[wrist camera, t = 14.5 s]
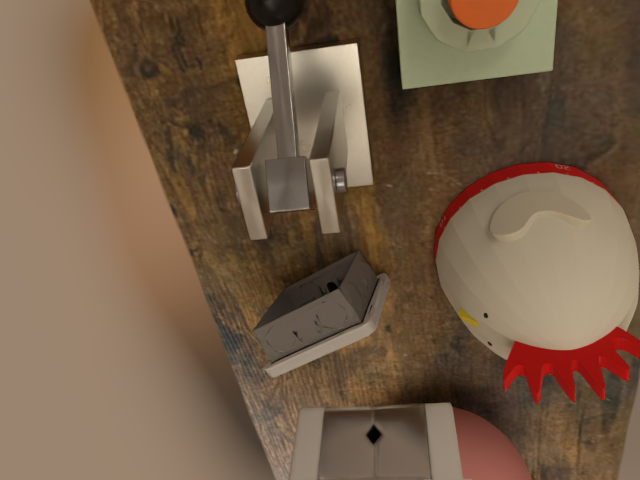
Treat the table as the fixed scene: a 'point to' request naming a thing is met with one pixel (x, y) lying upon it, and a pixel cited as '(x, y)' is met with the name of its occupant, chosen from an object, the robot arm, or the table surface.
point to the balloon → (486, 450)
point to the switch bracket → (306, 130)
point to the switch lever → (283, 109)
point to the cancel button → (482, 12)
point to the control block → (472, 43)
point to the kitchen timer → (543, 273)
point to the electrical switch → (322, 314)
